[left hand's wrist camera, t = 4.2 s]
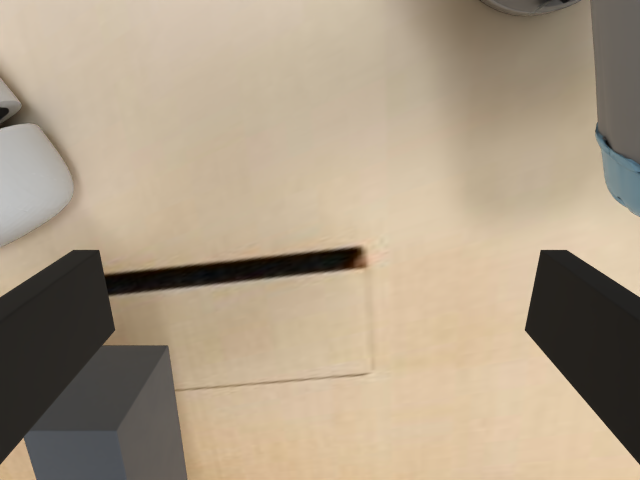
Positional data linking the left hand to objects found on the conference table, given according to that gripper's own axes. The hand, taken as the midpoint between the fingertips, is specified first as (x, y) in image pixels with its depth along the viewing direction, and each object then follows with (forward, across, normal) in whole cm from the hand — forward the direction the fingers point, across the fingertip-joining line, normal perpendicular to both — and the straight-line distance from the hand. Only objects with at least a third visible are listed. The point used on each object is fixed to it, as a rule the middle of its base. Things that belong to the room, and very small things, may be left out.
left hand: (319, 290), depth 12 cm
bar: (+18, -16, -25) cm, 35 cm away
